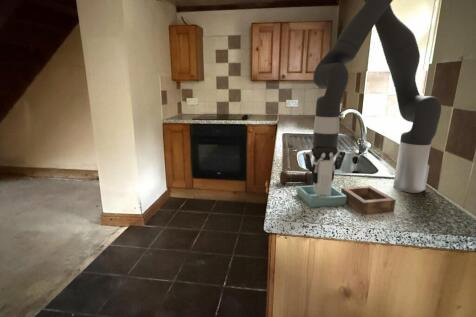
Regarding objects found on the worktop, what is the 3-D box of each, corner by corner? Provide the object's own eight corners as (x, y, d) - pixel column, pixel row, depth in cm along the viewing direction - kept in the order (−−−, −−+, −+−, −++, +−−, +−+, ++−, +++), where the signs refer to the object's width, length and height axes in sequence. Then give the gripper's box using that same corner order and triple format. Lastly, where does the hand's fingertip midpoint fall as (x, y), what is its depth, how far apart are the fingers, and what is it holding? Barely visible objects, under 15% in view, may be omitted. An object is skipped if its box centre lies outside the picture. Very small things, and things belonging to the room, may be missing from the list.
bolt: (319, 188, 108) (281, 188, 107) (315, 178, 112) (279, 178, 111) (323, 178, 104) (283, 178, 103) (319, 168, 108) (281, 168, 106)
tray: (328, 192, 99) (329, 184, 98) (345, 204, 89) (346, 196, 88) (296, 194, 97) (297, 186, 96) (310, 208, 87) (311, 199, 86)
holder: (368, 196, 95) (370, 185, 94) (393, 212, 84) (395, 199, 83) (340, 199, 93) (341, 187, 92) (362, 215, 82) (363, 202, 81)
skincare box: (331, 197, 90) (334, 161, 86) (317, 198, 89) (320, 162, 86) (324, 190, 96) (327, 156, 92) (311, 191, 95) (314, 156, 92)
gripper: (340, 127, 92) (336, 177, 96) (299, 129, 89) (297, 179, 94) (353, 131, 85) (348, 184, 89) (309, 133, 82) (306, 187, 87)
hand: (322, 181), depth 91 cm, fingers closed on skincare box, 4 cm apart
